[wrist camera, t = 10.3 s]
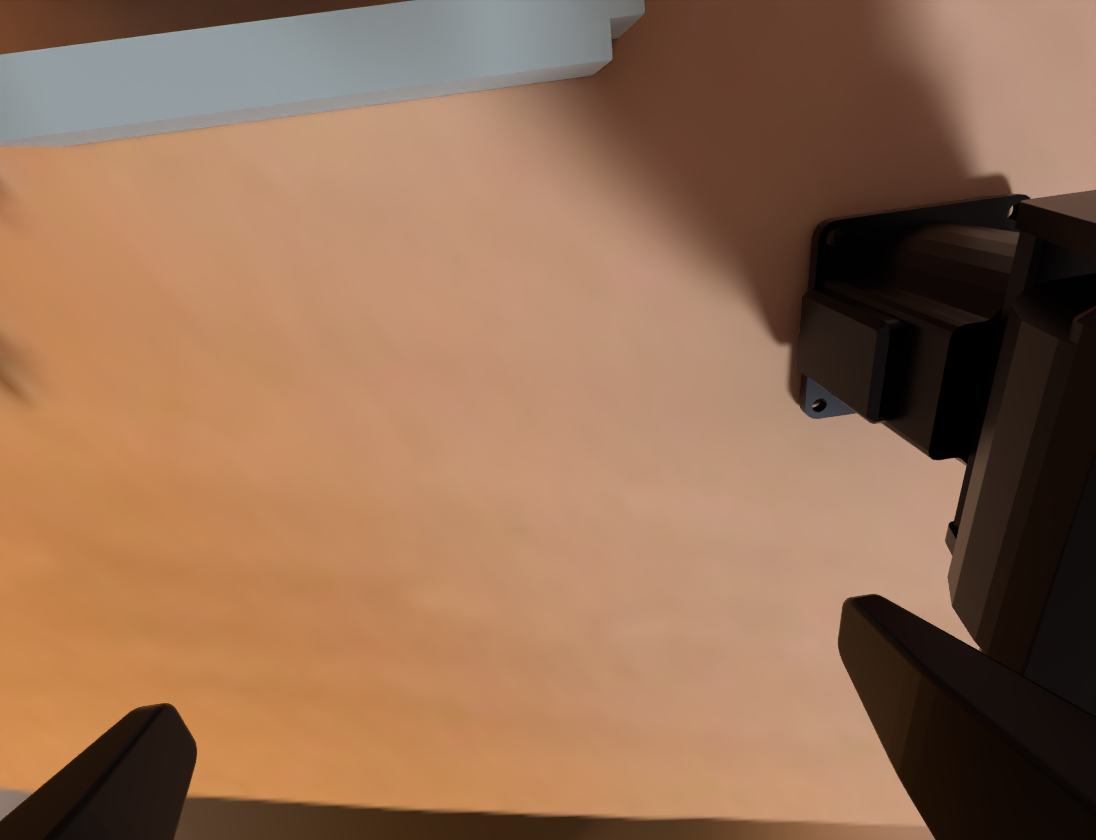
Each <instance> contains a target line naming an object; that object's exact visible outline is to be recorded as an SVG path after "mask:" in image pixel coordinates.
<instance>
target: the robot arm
mask: <svg viewBox="0 0 1096 840" xmlns="http://www.w3.org/2000/svg"><path fill="white" fill-rule="evenodd" d="M1012 206H1013V212H1012V214H1011V215H1010V216H1009V217H1008V218H1007V213H1008V211H1009V208H1011V207H1012ZM834 229H835V230H836V237H835V240H834V241H833V242H832V243H830V244H828V243H827V236H828V234H829V233H830V231H831V230H834ZM797 367H798V370H799V371H801V372H802V376H801V389H800V408H801V410H802V411H803V412H804V413H805V414H806V415H808V416H809V417H811V418H814V419H820V418H826V417H833V416H840V415H847V414H854V413H857V414H859V415H860V416H861V417H863V418H864V419H866V420H867V421H868V422H870V423H872V424H876V423H882V424H883V425H885V426H886V427H888V428H889V429H890V430H892V431H893V432H895V433H896V434H897V435H899V436H900V437H902V438H903V439H905V440H906V441H907V442H909V443H910V444H912V445H913V446H914V447H916V448H917V449H919V450H920V451H921V452H923V453H924V454H926V455H927V456H928V457H930V458H931V459H933V460H943V459H950V458H956V459H957V460H959V461H960V462H962V463H963V464H965V465H966V471H965V475H964V480H963V484H962V488H961V493H960V497H959V502H958V506H957V511H956V515H955V519H954V521H952V522H950V523H949V525H948V529H947V534H946V538H945V542H946V544H947V546H948V548H949V550H950V552H951V554H952V560H951V565H950V569H949V573H948V583H949V590H950V596H951V603H952V607H953V609H954V610H955V612H956V613H957V615H958V616H959V618H960V620H961V621H962V623H963V624H964V626H965V627H966V629H967V630H968V632H969V634H970V635H971V637H972V638H973V640H974V641H975V642H976V644H977V645H978V646H979V647H980V649H979V650H977V649H975V648H973V647H972V646H970V645H968V644H966V643H964V642H963V641H961V640H959V639H957V638H955V637H954V636H952V635H950V634H948V633H947V632H945V631H943V630H941V629H939V628H938V627H936V626H934V625H932V624H931V623H929V622H927V621H925V620H923V619H922V618H920V617H918V616H916V615H915V614H913V613H911V612H909V611H907V610H906V609H904V608H902V607H900V606H898V605H897V604H895V603H893V602H891V601H890V600H888V599H886V598H884V597H882V596H880V595H877V594H869V595H862V596H856V597H850V598H847V599H846V600H845V602H844V603H843V607H842V613H841V621H840V629H839V636H838V649H839V653H840V656H841V659H842V661H843V664H844V666H845V668H846V670H847V672H848V674H849V676H850V678H851V680H852V682H853V685H854V687H855V689H856V691H857V693H858V695H859V697H860V699H861V701H862V703H863V705H864V708H865V710H866V712H867V714H868V716H869V718H870V720H871V722H872V724H873V726H874V728H875V731H876V733H877V735H878V737H879V739H880V741H881V743H882V745H883V747H884V749H885V751H886V754H887V756H888V758H889V760H890V762H891V764H892V765H893V767H894V769H895V771H896V773H897V775H898V777H899V779H900V781H901V782H902V784H903V786H904V788H905V789H906V791H907V793H908V795H909V796H910V798H911V800H912V801H913V803H914V805H915V806H916V808H917V810H918V811H919V813H920V815H921V816H922V818H923V820H924V822H925V823H926V825H927V827H928V828H929V830H930V831H931V833H932V835H933V836H934V838H935V840H1096V190H1092V191H1085V192H1078V193H1071V194H1064V195H1056V196H1049V197H1042V198H1035V199H1030V198H1029V197H1028V196H1027V195H1022V194H1010V193H1008V194H1001V195H994V196H987V197H980V198H973V199H965V200H958V201H951V202H944V203H937V204H930V205H923V206H915V207H908V208H901V209H894V210H887V211H880V212H873V213H865V214H858V215H851V216H844V217H837V218H830V219H827V220H824V221H822V222H821V223H820V224H818V225H817V227H816V228H815V230H814V232H813V236H812V243H811V256H810V269H809V283H808V290H807V292H806V293H805V294H804V296H803V297H802V309H801V323H800V337H799V351H798V365H797ZM820 398H821V401H820V404H819V405H818V406H816V407H813V408H812V405H813V403H814V402H815V401H816V400H818V399H820ZM196 758H197V747H196V742H195V740H194V738H193V736H192V735H191V733H190V731H189V730H188V728H187V726H186V725H185V723H184V721H183V720H182V718H181V716H180V715H179V713H178V711H177V710H176V708H175V707H174V706H173V705H171V704H169V703H162V704H155V705H149V706H143V707H139V708H136V709H134V710H132V711H131V712H129V713H128V714H127V715H126V716H124V717H123V718H122V719H121V720H120V721H119V722H117V723H116V724H115V725H114V726H113V727H111V728H110V729H109V730H108V731H107V732H105V733H104V734H103V735H102V736H101V737H99V738H98V739H97V740H96V741H95V742H94V743H92V744H91V745H90V746H89V747H88V748H86V749H85V750H84V751H83V752H82V753H80V754H79V755H78V756H77V757H76V758H75V759H73V760H72V761H71V762H70V763H69V764H67V765H66V766H65V767H64V768H63V769H61V770H60V771H59V772H58V773H57V774H56V775H54V776H53V777H52V778H51V779H50V780H48V781H47V782H46V783H45V784H44V785H42V786H41V787H40V788H39V789H38V790H37V791H35V792H34V793H33V794H32V795H31V796H29V797H28V798H27V799H26V800H25V801H23V802H22V803H21V804H20V805H19V806H18V807H16V808H15V809H14V810H13V811H12V812H10V813H9V814H8V815H7V816H6V817H4V818H3V819H2V820H1V821H0V840H174V839H175V835H176V831H177V828H178V824H179V821H180V817H181V814H182V810H183V806H184V803H185V799H186V796H187V792H188V789H189V785H190V782H191V778H192V774H193V771H194V767H195V764H196Z"/></svg>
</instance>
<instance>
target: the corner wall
mask: <svg viewBox="0 0 1096 840" xmlns="http://www.w3.org/2000/svg"><path fill="white" fill-rule="evenodd" d="M644 14H645V6H644V0H413V1H405V2H398V3H390V4H383V5H375V6H367V7H360V8H352V9H344V10H337V11H329V12H321V13H314V14H306V15H299V16H291V17H283V18H276V19H268V20H260V21H253V22H245V23H237V24H230V25H222V26H215V27H207V28H199V29H192V30H184V31H176V32H169V33H161V34H153V35H146V36H138V37H131V38H123V39H115V40H108V41H100V42H92V43H85V44H77V45H69V46H62V47H54V48H47V49H39V50H31V51H24V52H16V53H8V54H1V55H0V146H44V147H65V146H72V145H79V144H87V143H94V142H102V141H109V140H117V139H124V138H132V137H139V136H146V135H154V134H161V133H169V132H176V131H184V130H191V129H199V128H206V127H213V126H221V125H228V124H236V123H243V122H251V121H258V120H266V119H273V118H281V117H288V116H295V115H303V114H310V113H318V112H325V111H333V110H340V109H348V108H355V107H362V106H370V105H377V104H385V103H392V102H400V101H407V100H415V99H422V98H430V97H437V96H444V95H452V94H459V93H467V92H474V91H482V90H489V89H497V88H504V87H511V86H519V85H526V84H534V83H541V82H549V81H556V80H564V79H571V78H578V77H586V76H592V75H594V74H595V73H596V72H597V71H599V70H600V69H601V68H602V67H604V66H605V65H606V64H608V63H609V62H610V61H611V60H613V57H612V41H611V40H612V39H618V38H619V37H620V36H622V35H623V34H624V33H625V32H626V31H627V30H628V29H629V28H630V27H631V26H632V25H633V24H634V23H635V22H637V21H638V20H639V19H640V18H641V17H642V16H643V15H644Z"/></svg>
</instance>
